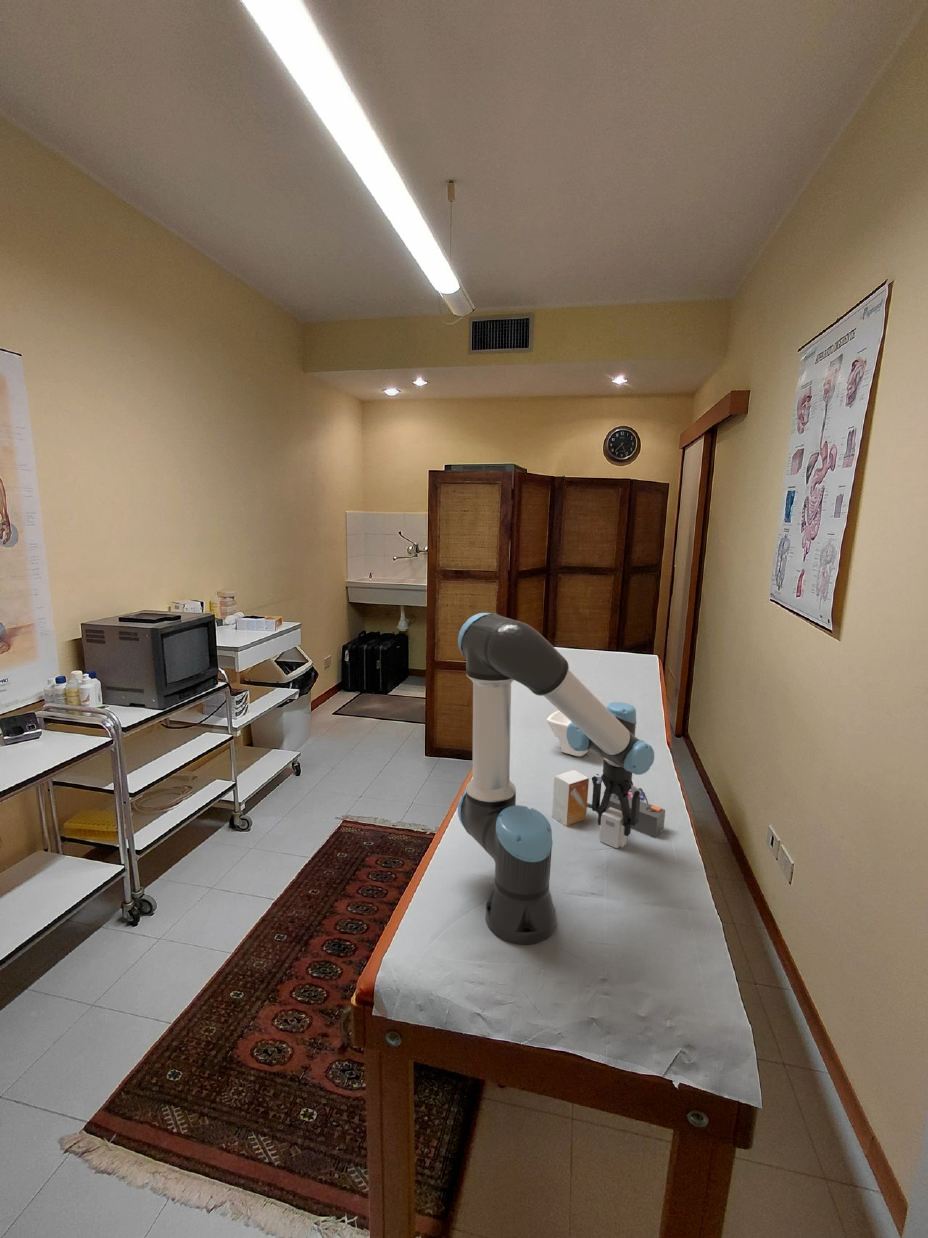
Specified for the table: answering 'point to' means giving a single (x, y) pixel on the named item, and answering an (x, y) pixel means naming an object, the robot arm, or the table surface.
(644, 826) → the power strip
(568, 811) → the small box
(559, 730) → the bowl
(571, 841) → the table surface
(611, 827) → the block
